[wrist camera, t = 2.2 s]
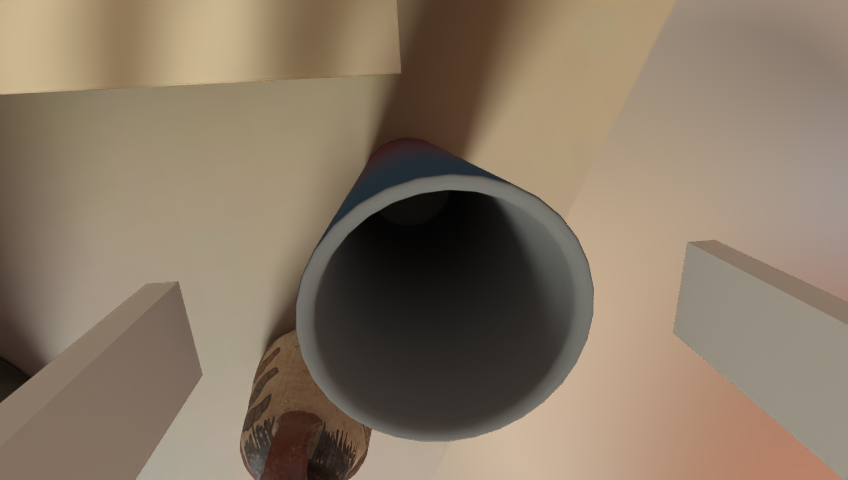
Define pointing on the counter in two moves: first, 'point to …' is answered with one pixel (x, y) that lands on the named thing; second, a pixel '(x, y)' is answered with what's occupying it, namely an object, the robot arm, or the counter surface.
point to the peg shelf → (191, 42)
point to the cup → (442, 298)
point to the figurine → (297, 423)
